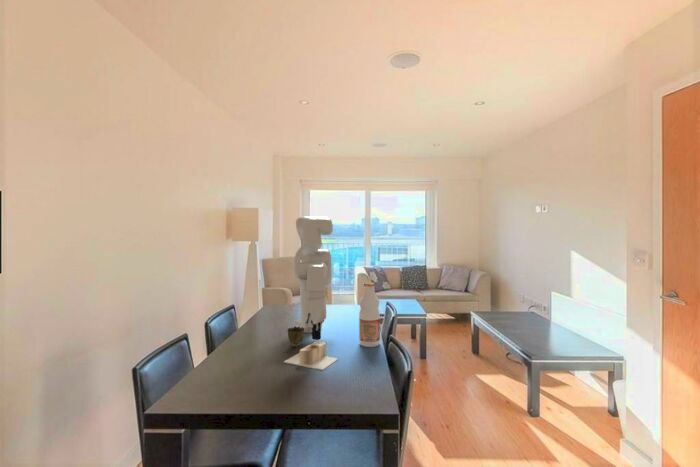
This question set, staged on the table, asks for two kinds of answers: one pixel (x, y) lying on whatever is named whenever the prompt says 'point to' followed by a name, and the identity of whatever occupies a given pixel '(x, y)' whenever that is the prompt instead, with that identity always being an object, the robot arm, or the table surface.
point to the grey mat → (319, 364)
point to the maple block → (312, 352)
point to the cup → (295, 335)
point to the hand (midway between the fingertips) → (316, 338)
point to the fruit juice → (369, 317)
